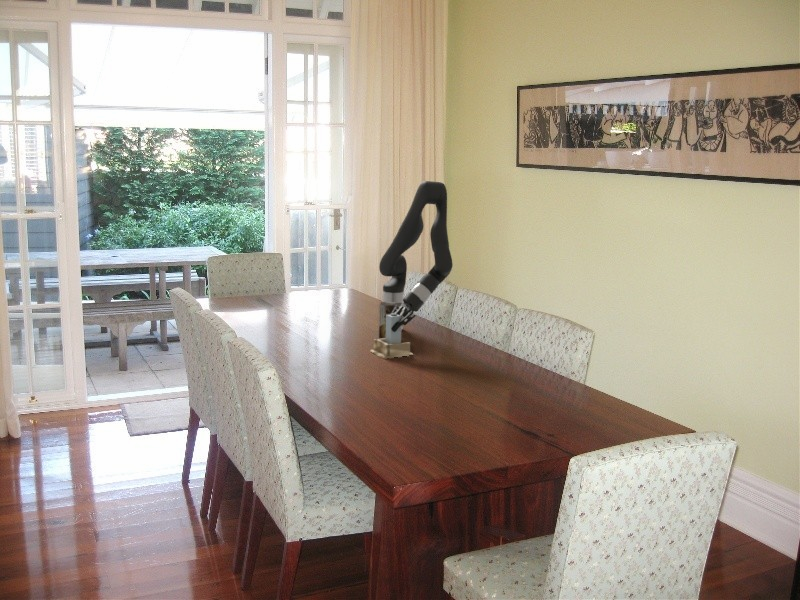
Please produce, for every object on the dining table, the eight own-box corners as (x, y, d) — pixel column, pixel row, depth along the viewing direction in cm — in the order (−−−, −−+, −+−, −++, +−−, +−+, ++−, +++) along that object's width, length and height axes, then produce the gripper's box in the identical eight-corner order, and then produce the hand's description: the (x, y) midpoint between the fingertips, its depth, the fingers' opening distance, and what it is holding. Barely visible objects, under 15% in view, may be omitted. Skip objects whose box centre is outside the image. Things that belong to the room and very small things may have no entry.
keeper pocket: (370, 351, 352) (370, 339, 351) (398, 348, 358) (399, 336, 357) (383, 359, 342) (384, 345, 341) (413, 355, 348) (413, 342, 347)
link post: (385, 349, 351) (386, 313, 348) (395, 348, 353) (396, 312, 350) (390, 351, 347) (391, 315, 344) (400, 350, 349) (401, 314, 346)
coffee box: (401, 339, 374) (402, 302, 371) (399, 343, 368) (401, 305, 364) (380, 338, 375) (381, 301, 372) (378, 342, 368) (379, 304, 365)
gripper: (402, 287, 355) (375, 319, 352) (420, 294, 343) (392, 327, 340) (414, 300, 359) (387, 331, 356) (431, 306, 347) (404, 339, 343)
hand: (389, 329), depth 348 cm, fingers closed on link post, 4 cm apart
